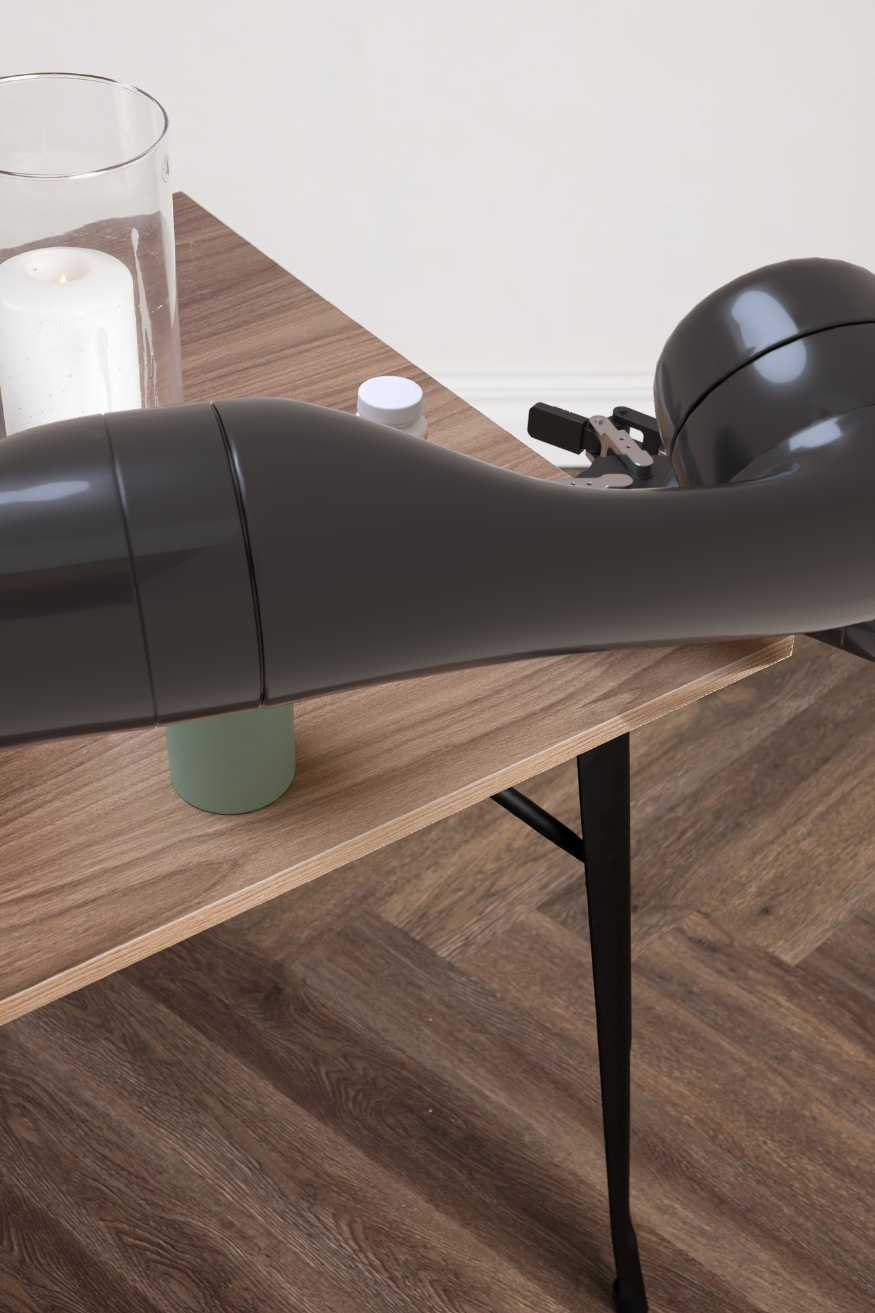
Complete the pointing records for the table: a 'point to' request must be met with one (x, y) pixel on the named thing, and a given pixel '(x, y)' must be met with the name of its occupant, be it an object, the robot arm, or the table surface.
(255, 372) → the table surface
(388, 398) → the supplement bottle
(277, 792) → the water bottle
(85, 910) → the table surface
